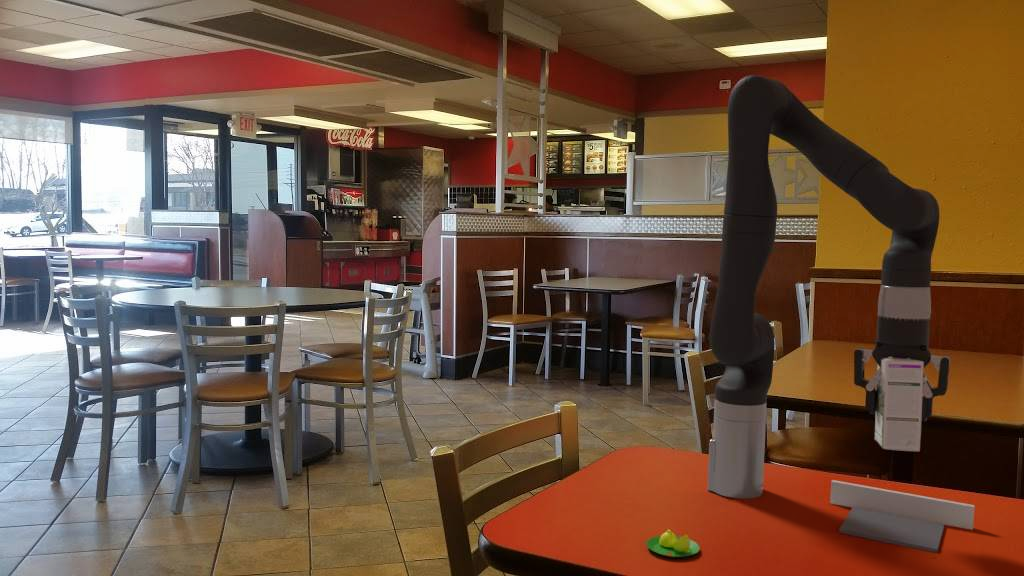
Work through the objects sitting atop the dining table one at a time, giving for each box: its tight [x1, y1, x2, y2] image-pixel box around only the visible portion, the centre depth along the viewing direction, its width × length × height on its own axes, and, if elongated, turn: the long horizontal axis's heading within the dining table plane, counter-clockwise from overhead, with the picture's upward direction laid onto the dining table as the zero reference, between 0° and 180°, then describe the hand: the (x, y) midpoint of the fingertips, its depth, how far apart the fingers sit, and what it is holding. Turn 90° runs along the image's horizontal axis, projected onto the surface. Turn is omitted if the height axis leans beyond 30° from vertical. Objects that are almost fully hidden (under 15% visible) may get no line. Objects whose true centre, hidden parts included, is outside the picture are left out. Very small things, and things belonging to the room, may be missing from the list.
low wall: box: [829, 479, 975, 531], centre depth 136 cm, size 22×1×4 cm, turn 57°
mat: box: [838, 507, 945, 554], centre depth 129 cm, size 14×12×1 cm
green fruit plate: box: [645, 529, 701, 559], centre depth 121 cm, size 8×8×3 cm
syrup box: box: [874, 358, 924, 452], centre depth 127 cm, size 6×6×14 cm
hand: (897, 416), depth 128 cm, fingers closed on syrup box, 7 cm apart
